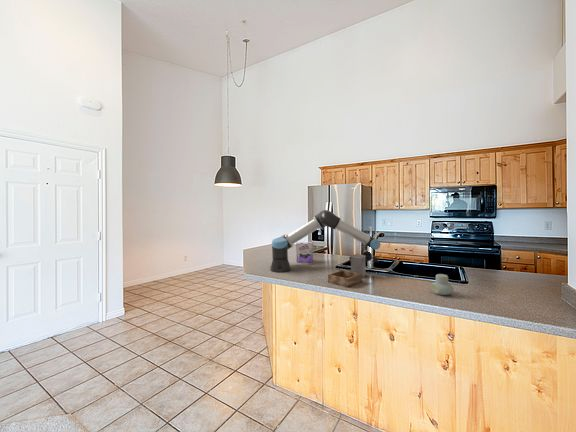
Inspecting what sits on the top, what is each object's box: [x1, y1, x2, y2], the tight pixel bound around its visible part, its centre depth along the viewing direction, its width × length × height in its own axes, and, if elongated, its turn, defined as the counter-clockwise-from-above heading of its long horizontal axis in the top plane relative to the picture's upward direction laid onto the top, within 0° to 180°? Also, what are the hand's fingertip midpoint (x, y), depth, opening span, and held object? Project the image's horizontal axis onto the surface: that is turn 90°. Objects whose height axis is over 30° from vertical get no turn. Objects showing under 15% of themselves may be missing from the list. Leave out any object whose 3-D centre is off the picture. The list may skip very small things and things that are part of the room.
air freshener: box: [430, 273, 455, 296], centre depth 146 cm, size 11×8×10 cm
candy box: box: [295, 241, 314, 263], centre depth 231 cm, size 14×6×16 cm, turn 80°
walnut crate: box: [327, 269, 363, 288], centre depth 171 cm, size 15×15×5 cm
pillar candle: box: [350, 253, 366, 278], centre depth 185 cm, size 10×10×15 cm
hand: (361, 261), depth 190 cm, fingers open, 13 cm apart
